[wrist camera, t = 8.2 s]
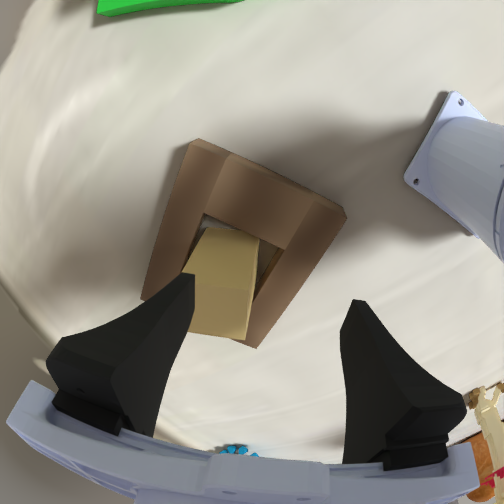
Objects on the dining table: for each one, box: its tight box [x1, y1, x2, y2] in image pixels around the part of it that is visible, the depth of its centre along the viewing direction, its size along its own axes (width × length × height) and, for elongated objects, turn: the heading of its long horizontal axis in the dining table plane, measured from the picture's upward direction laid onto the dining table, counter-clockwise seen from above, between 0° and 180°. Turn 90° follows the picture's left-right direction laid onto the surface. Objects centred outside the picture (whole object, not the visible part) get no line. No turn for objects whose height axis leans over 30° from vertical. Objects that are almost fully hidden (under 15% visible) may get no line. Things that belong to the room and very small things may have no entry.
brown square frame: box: [140, 138, 347, 349], centre depth 22 cm, size 11×14×2 cm
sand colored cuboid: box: [182, 227, 260, 340], centre depth 20 cm, size 4×4×7 cm
